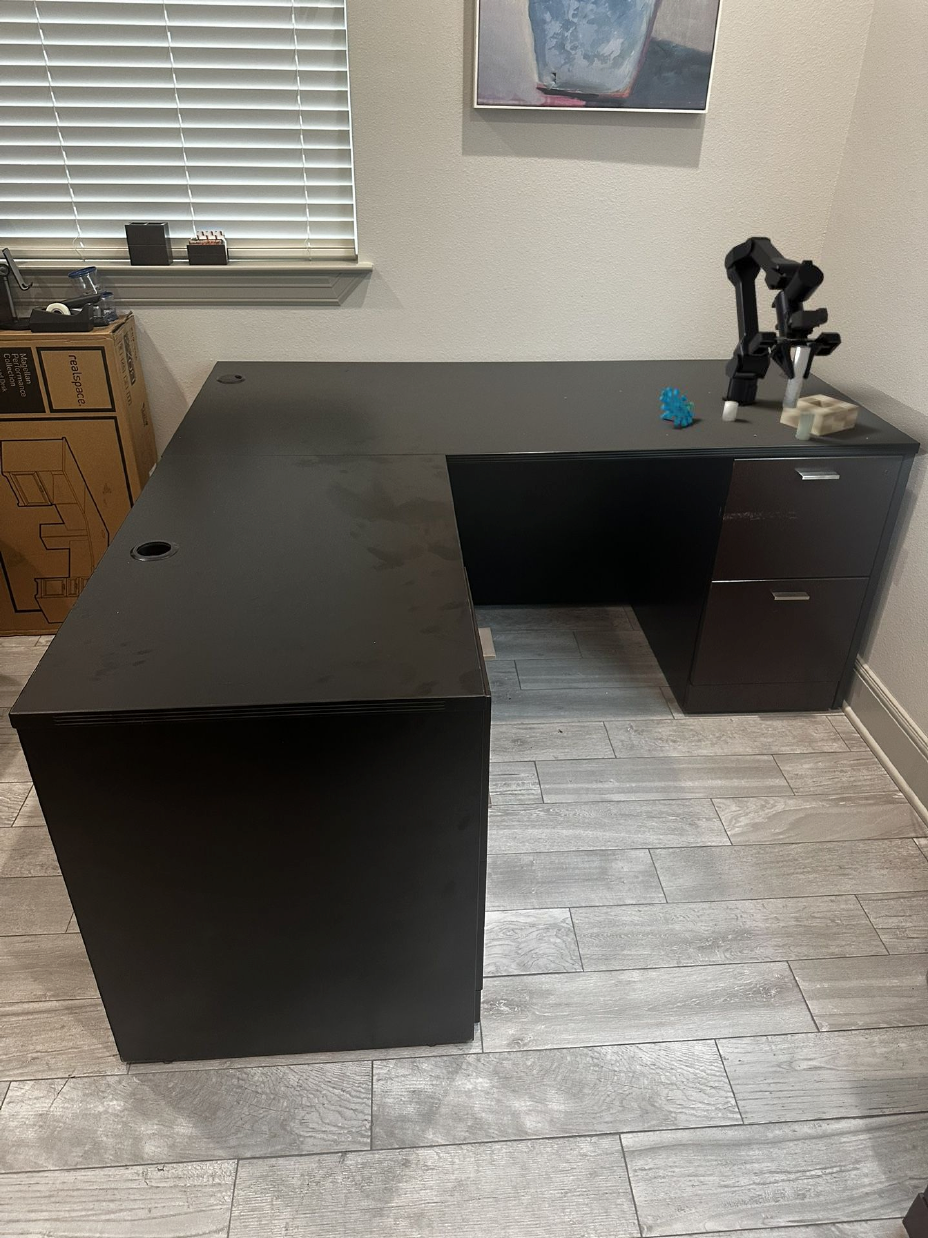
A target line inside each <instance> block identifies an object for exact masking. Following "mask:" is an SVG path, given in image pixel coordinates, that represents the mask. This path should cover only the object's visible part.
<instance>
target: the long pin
mask: <svg viewBox="0 0 928 1238" xmlns="http://www.w3.org/2000/svg"><path fill="white" fill-rule="evenodd" d="M810 350H811V347H808V346H802V345H799V346H796V348H795V351H794V354H793V359H792V365H793V372H794V377H793V379H792V380H790V379H789V378H788V380H787V383H786V384H787V385H786V388H785V393H784V397H783V401H782V407H785V408H791V409H794V408H796V407H797V403H798V399H800V396H801V395H800V393H801V390H802V386H803V382H804V380H805V379H804V374H805V370H806V366H807V362H808V358H809V354H810Z"/></svg>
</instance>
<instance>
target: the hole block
mask: <svg viewBox="0 0 928 1238" xmlns="http://www.w3.org/2000/svg"><path fill="white" fill-rule="evenodd" d="M782 407H783V406H782ZM859 410H860V406H859V405H857V404H852V403H849V402H846V401H843V400H840V399H836V398H834V397H830V396H827V395H824V394H820V393H819V394H814V395H810V396H804V397H801V398H800V397H799V399H798V403H797V407H796V408H794V409H791V408H785V407H783V408H782V412H781V417H780V421H779V423H781V424H784V425H787V426H790V427H792V428H795V429H798V425H799V421H800V416H801V413H802V412H809V413H813V414H815V418H814V422H813V426H812V430H811V434H812V435H815V436H818V437H820V436H823V435H828V434H833V433H836V432H840V431H845V430H849V429H853V428H855V424H856V420H857V418H858V414H859Z"/></svg>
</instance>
